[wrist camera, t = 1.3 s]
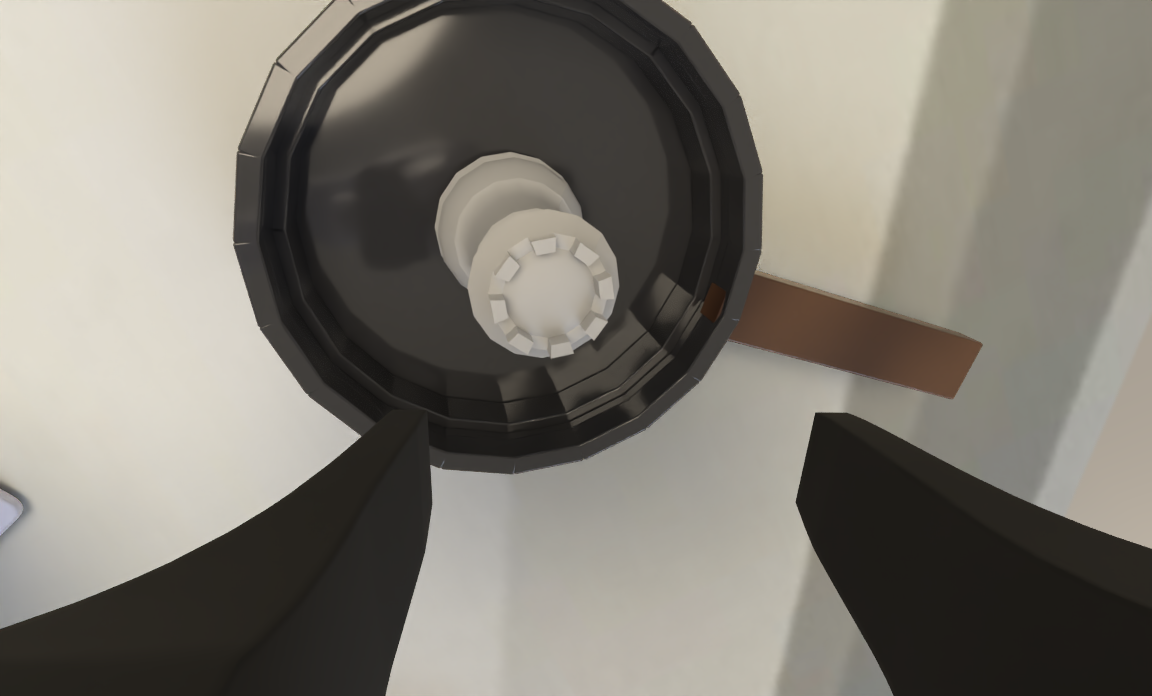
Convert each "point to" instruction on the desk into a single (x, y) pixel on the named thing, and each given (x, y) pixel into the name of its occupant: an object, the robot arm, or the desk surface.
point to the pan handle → (848, 335)
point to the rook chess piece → (526, 255)
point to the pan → (424, 170)
